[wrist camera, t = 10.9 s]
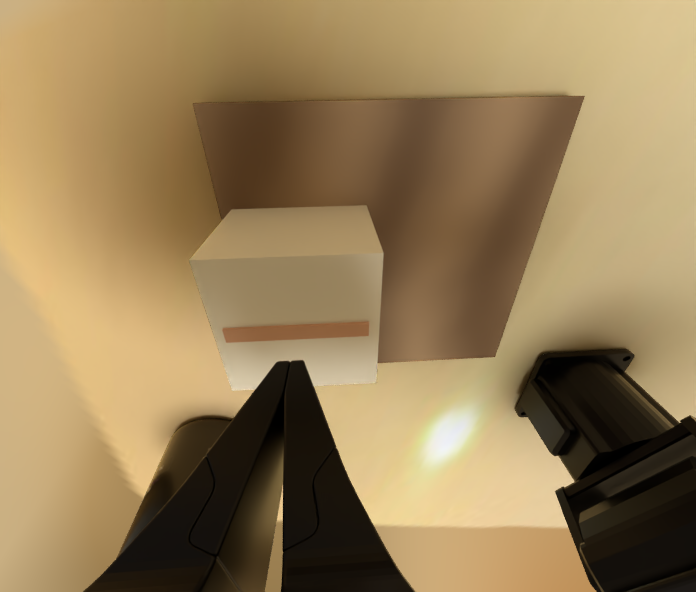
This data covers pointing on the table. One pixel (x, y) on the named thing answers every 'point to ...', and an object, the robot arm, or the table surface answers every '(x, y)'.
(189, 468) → the supplement bottle
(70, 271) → the table surface
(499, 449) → the table surface
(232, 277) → the white carton
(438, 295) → the base plate
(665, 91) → the table surface
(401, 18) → the table surface
